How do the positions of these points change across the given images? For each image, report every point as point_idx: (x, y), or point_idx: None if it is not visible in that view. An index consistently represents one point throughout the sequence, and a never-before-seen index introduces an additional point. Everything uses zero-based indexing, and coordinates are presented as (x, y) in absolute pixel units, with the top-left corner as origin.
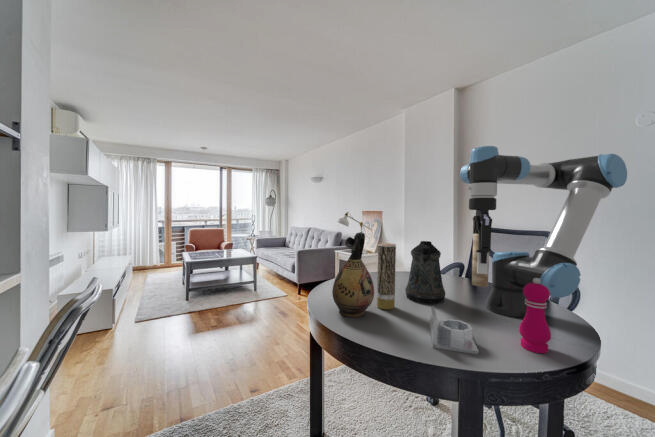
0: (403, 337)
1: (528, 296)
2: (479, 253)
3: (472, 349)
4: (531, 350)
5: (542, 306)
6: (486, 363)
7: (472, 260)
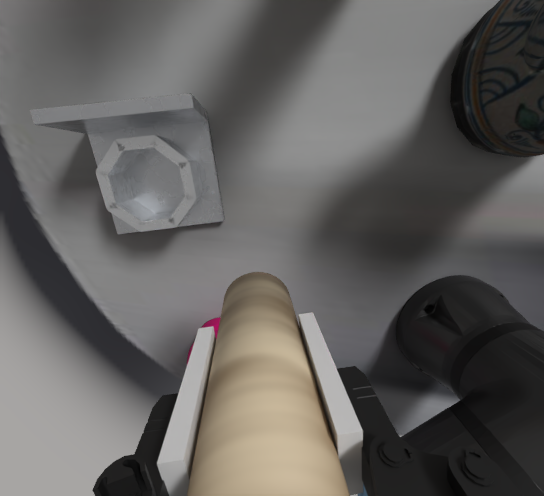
0: (108, 26)
1: None
2: (162, 460)
3: (116, 221)
4: None
5: None
6: (87, 244)
7: (260, 348)
